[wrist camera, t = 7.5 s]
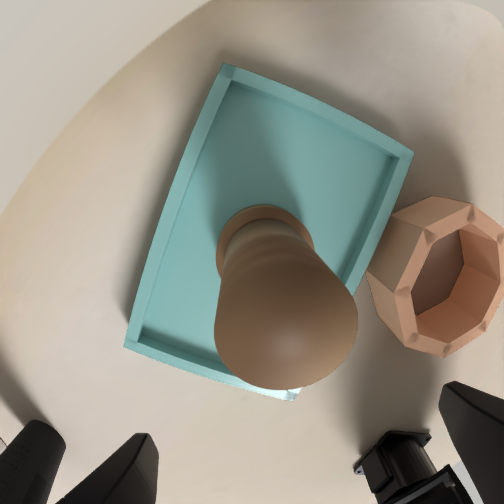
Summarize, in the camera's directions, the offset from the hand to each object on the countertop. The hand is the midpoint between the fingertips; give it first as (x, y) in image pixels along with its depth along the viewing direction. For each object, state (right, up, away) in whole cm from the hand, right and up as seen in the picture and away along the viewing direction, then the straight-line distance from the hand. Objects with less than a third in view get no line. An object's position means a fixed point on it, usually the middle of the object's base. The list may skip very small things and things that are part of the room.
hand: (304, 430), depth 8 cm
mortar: (+11, +4, +12) cm, 17 cm away
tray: (-1, +5, +12) cm, 13 cm away
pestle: (-1, +5, +11) cm, 12 cm away
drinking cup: (-23, -14, +16) cm, 31 cm away
